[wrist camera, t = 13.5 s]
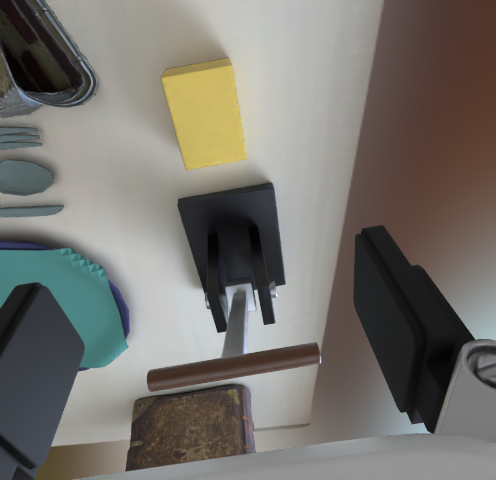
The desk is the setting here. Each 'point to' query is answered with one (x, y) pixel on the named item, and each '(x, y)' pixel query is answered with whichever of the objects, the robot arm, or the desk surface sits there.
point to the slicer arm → (235, 349)
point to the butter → (205, 113)
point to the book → (191, 427)
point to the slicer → (235, 245)
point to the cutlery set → (59, 265)
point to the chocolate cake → (39, 61)
